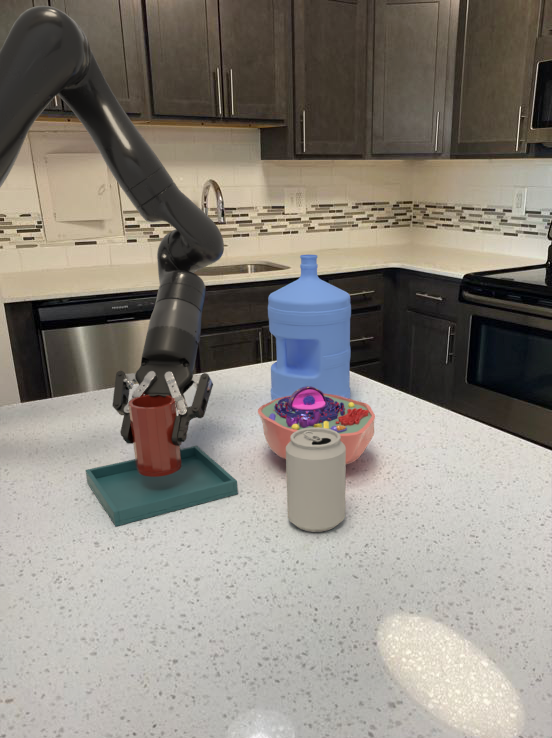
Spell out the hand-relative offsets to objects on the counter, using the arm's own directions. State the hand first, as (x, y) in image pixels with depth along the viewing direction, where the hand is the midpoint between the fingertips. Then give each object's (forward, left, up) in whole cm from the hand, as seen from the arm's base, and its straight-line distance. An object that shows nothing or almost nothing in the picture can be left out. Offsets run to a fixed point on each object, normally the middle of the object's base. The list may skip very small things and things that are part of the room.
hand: (152, 442), depth 91 cm
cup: (+1, +1, -5) cm, 5 cm away
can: (+15, -19, -8) cm, 25 cm away
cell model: (+25, -3, -8) cm, 26 cm away
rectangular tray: (+1, +1, -8) cm, 8 cm away
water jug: (+39, +23, -8) cm, 46 cm away
